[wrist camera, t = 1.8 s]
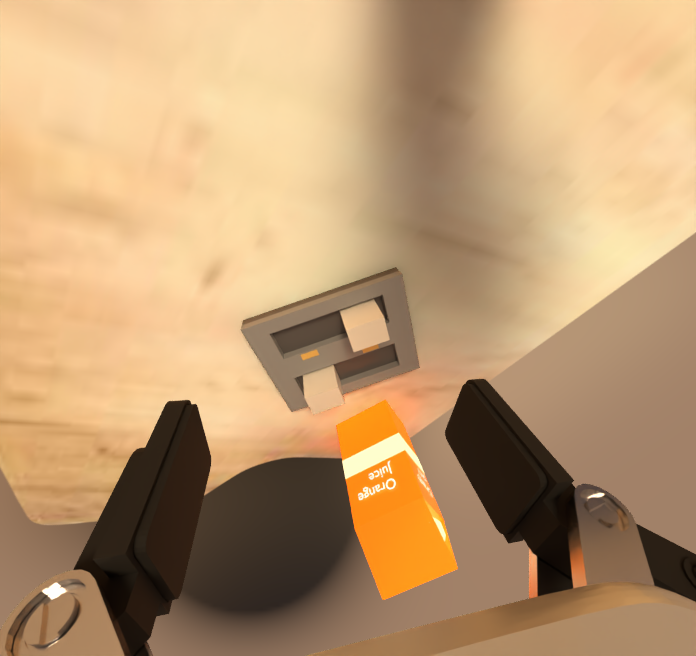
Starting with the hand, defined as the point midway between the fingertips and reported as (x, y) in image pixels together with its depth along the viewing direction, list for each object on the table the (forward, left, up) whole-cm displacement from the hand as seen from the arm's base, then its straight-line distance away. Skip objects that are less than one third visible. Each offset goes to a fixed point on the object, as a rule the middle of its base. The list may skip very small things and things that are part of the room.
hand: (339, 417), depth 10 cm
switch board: (0, +13, -22) cm, 25 cm away
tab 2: (-3, +9, -21) cm, 23 cm away
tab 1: (+4, +16, -21) cm, 27 cm away
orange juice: (0, +31, -22) cm, 38 cm away
